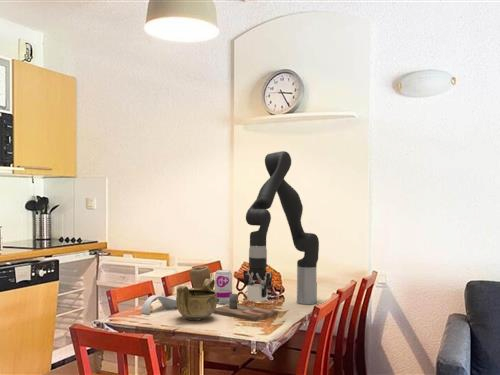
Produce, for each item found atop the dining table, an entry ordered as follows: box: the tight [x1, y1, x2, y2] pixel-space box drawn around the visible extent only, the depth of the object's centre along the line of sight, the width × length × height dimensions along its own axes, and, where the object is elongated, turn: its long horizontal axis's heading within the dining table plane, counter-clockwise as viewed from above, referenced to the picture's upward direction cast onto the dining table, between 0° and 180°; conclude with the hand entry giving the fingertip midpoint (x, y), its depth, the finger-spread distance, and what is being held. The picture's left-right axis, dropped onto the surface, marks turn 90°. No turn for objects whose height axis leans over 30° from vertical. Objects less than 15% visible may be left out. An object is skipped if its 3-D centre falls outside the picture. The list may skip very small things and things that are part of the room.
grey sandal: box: [140, 294, 178, 315], centre depth 232 cm, size 24×12×7 cm, turn 148°
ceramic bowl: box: [175, 278, 218, 321], centre depth 215 cm, size 22×17×15 cm
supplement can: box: [214, 269, 233, 305], centre depth 248 cm, size 8×8×15 cm
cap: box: [246, 283, 268, 303], centre depth 221 cm, size 6×6×6 cm
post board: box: [212, 293, 279, 322], centre depth 225 cm, size 16×24×8 cm, turn 53°
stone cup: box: [189, 265, 215, 291], centre depth 264 cm, size 15×12×15 cm
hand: (257, 296), depth 221 cm, fingers closed on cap, 6 cm apart
